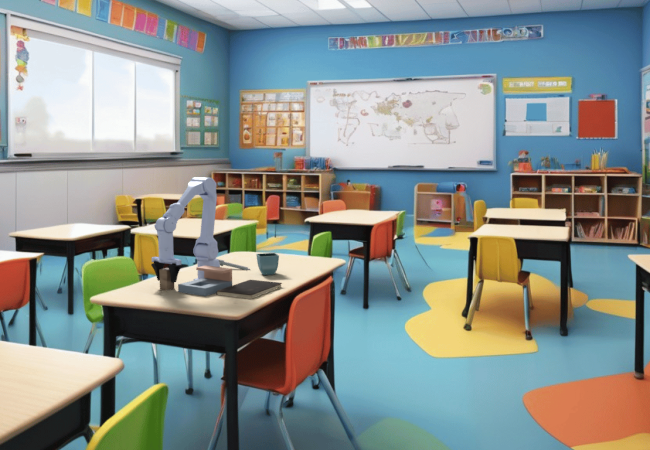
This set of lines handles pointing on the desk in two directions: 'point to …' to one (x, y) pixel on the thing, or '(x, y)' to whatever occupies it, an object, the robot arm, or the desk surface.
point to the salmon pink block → (216, 272)
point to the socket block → (203, 286)
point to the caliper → (232, 265)
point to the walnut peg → (165, 279)
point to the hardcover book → (249, 289)
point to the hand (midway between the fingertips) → (166, 281)
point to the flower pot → (267, 263)
